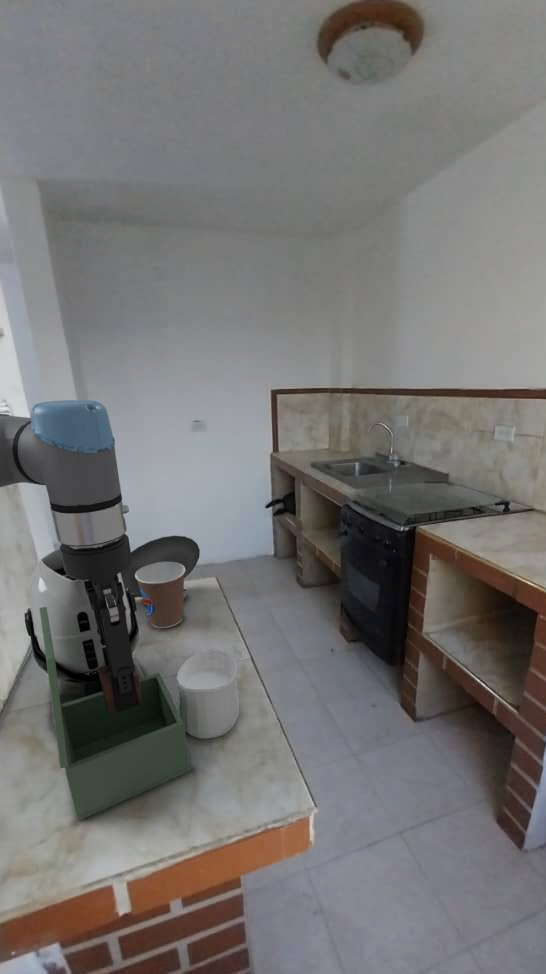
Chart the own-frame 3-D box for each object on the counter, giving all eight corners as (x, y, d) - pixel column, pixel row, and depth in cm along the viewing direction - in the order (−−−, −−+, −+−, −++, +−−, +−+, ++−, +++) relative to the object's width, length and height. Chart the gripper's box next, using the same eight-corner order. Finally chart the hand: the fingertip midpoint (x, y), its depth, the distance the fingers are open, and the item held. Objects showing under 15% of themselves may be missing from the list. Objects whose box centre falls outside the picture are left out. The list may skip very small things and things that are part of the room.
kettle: (47, 666, 87) (6, 506, 75) (134, 643, 94) (109, 493, 82) (51, 758, 67) (-3, 561, 55) (161, 720, 74) (134, 537, 62)
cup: (187, 749, 69) (181, 698, 65) (175, 706, 77) (169, 658, 74) (248, 730, 72) (245, 680, 69) (230, 690, 81) (227, 644, 77)
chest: (165, 715, 75) (159, 672, 72) (190, 771, 65) (184, 723, 62) (67, 752, 68) (55, 706, 65) (78, 821, 58) (65, 770, 55)
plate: (168, 528, 95) (164, 522, 96) (93, 591, 96) (90, 584, 97) (217, 557, 114) (214, 551, 115) (154, 609, 115) (151, 603, 116)
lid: (46, 606, 60) (39, 607, 59) (54, 657, 50) (46, 659, 49) (58, 702, 65) (52, 704, 65) (68, 766, 55) (60, 769, 55)
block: (108, 713, 60) (102, 686, 58) (102, 693, 63) (97, 667, 62) (142, 701, 62) (138, 675, 60) (135, 683, 66) (131, 657, 64)
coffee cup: (138, 614, 104) (131, 566, 99) (184, 604, 108) (179, 557, 104) (146, 637, 95) (138, 586, 91) (195, 625, 100) (190, 576, 95)
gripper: (144, 557, 49) (169, 725, 58) (113, 512, 63) (137, 653, 71) (67, 573, 45) (105, 750, 54) (52, 521, 59) (85, 669, 68)
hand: (123, 695), depth 63 cm, fingers closed on block, 4 cm apart
